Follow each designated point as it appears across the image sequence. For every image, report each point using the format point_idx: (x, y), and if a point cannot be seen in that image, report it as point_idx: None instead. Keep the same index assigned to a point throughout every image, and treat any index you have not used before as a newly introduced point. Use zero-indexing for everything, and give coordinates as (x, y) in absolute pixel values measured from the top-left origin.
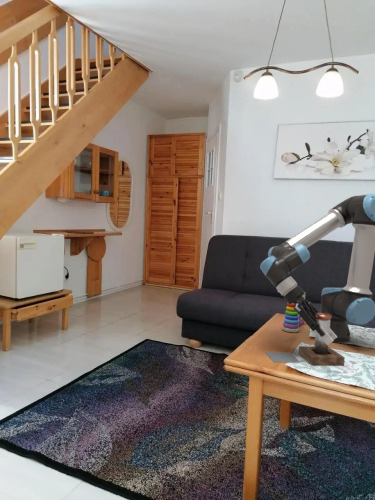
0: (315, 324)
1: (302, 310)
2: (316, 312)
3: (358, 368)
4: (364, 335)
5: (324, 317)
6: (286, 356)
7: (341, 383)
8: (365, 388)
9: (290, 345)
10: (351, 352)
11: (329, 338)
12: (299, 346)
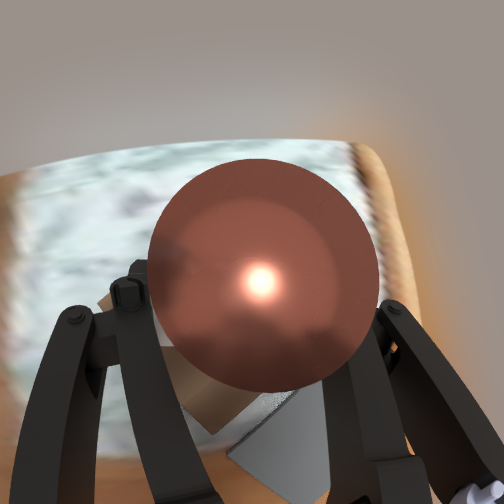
0: (404, 311)
1: (493, 448)
2: (72, 424)
3: (198, 174)
4: None
5: (358, 233)
6: (290, 444)
7: (372, 205)
8: (353, 151)
9: (101, 482)
10: (19, 230)
11: None
12: (214, 432)
